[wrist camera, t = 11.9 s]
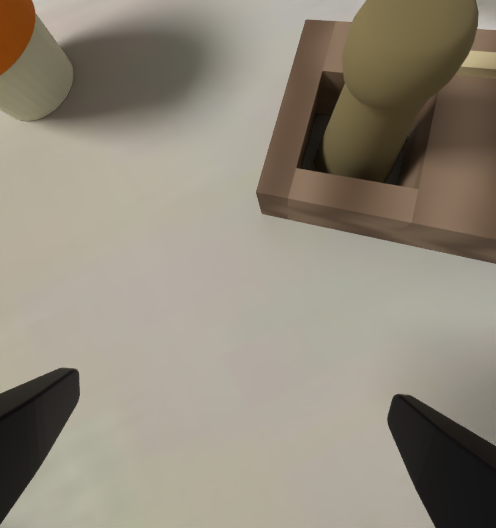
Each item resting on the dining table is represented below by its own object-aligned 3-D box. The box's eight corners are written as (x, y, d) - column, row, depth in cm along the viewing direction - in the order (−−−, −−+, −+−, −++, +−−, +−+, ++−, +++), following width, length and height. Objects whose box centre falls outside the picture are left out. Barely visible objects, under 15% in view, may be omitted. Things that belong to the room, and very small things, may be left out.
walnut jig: (567, 94, 19) (656, 27, 14) (544, 273, 17) (636, 262, 13) (302, 69, 23) (306, 10, 18) (261, 213, 21) (254, 188, 16)
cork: (380, 120, 21) (480, -81, 10) (401, 187, 19) (540, 40, 9) (306, 139, 21) (326, -30, 11) (323, 204, 20) (363, 88, 9)
